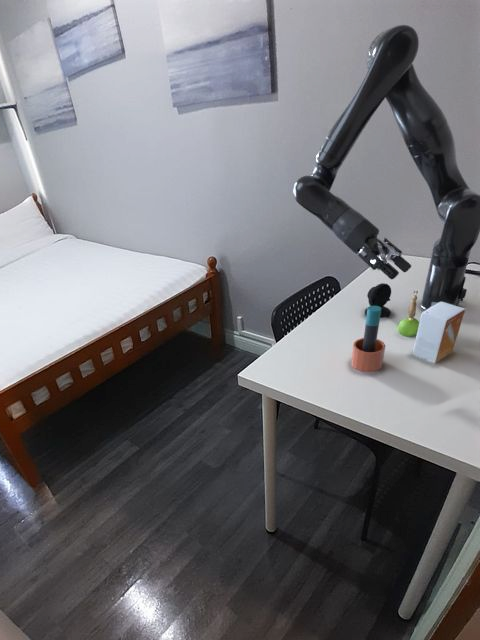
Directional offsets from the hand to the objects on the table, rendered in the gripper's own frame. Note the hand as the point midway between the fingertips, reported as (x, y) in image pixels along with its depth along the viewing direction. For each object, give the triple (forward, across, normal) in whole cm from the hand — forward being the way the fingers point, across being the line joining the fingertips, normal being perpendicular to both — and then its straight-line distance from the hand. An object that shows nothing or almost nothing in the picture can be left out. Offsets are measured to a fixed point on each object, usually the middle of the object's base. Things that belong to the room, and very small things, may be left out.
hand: (402, 273), depth 100 cm
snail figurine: (+12, +10, +15) cm, 22 cm away
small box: (+20, +4, +12) cm, 24 cm away
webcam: (+2, +18, +21) cm, 27 cm away
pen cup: (+11, -9, +20) cm, 25 cm away
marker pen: (+11, -9, +19) cm, 24 cm away
